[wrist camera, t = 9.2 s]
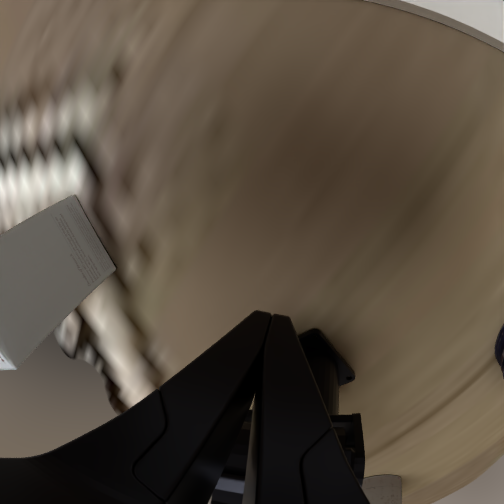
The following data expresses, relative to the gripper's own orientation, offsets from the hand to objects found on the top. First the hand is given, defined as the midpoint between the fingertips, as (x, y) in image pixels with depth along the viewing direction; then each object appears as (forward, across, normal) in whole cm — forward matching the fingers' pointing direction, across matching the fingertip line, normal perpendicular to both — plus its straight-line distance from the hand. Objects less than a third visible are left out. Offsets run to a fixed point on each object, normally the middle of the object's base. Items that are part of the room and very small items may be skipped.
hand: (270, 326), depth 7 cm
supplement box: (+12, +18, +7) cm, 23 cm away
